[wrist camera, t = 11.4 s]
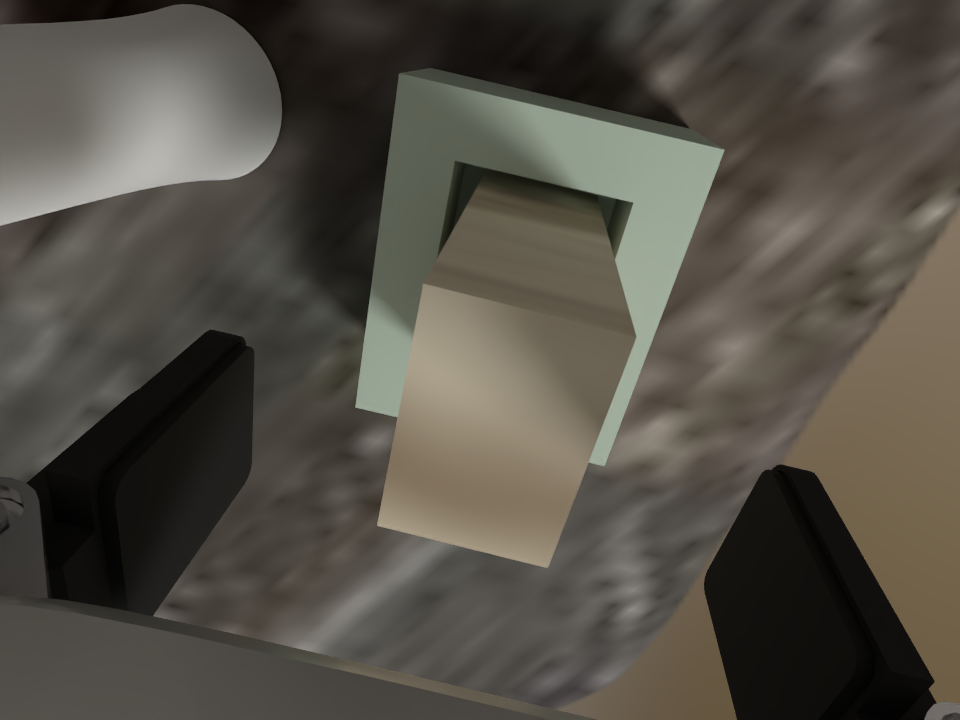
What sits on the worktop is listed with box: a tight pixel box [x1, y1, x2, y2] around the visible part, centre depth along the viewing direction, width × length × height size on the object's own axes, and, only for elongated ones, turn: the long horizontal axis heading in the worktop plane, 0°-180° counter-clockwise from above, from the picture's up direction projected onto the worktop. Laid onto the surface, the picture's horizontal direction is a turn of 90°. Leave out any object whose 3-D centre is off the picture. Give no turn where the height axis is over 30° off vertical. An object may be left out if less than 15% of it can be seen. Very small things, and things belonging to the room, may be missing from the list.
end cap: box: [356, 68, 724, 466], centre depth 22 cm, size 12×10×5 cm
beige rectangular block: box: [377, 168, 637, 568], centre depth 18 cm, size 6×4×12 cm, turn 167°
